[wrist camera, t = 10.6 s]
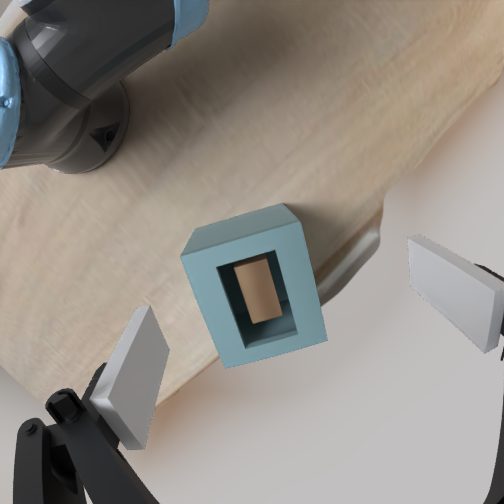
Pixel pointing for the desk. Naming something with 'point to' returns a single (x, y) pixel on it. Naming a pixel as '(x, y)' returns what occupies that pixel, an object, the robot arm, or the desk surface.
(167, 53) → the desk surface
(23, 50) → the robot arm
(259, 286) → the block
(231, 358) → the coin box
